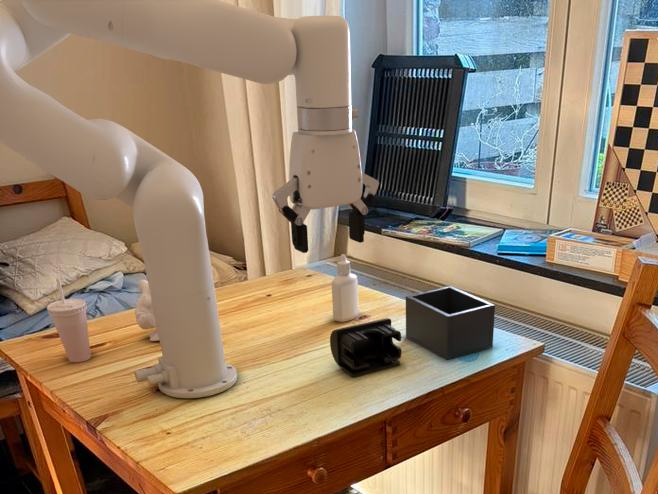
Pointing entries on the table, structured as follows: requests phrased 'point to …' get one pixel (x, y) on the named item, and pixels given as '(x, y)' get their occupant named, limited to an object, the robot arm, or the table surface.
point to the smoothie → (71, 326)
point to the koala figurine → (146, 311)
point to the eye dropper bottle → (345, 292)
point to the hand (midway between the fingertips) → (329, 245)
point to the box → (450, 322)
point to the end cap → (366, 347)
